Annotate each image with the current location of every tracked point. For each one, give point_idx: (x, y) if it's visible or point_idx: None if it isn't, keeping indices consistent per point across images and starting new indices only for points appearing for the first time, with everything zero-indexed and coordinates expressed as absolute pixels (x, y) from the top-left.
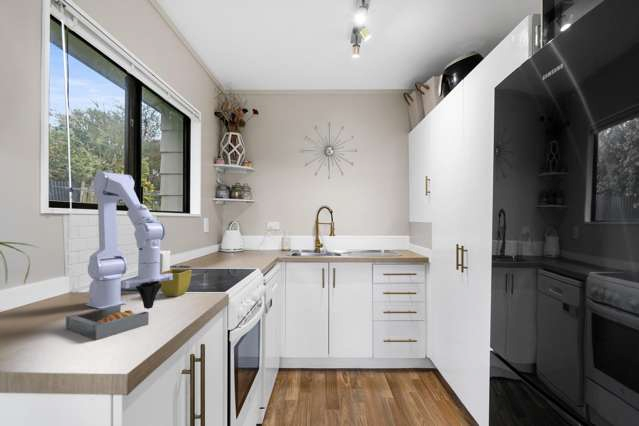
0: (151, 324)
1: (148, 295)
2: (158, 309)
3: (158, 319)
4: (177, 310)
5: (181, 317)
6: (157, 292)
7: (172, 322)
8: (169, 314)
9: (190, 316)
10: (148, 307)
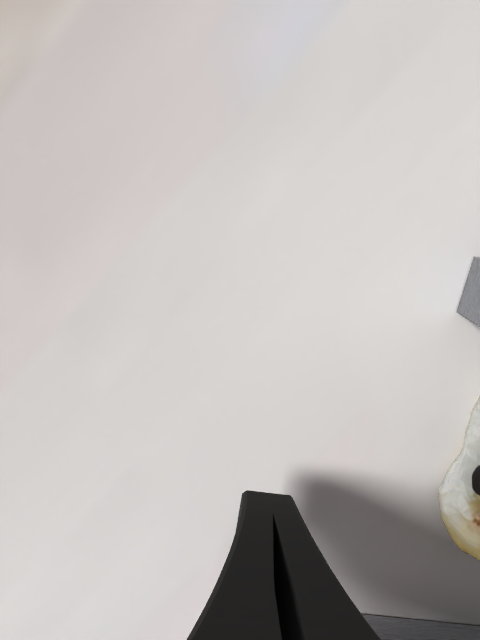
0: (468, 225)
1: (356, 631)
2: (97, 520)
3: (321, 289)
4: (23, 349)
5: (175, 105)
6: (195, 632)
7: (353, 55)
8: (157, 317)
9: (98, 22)
10: (294, 502)
